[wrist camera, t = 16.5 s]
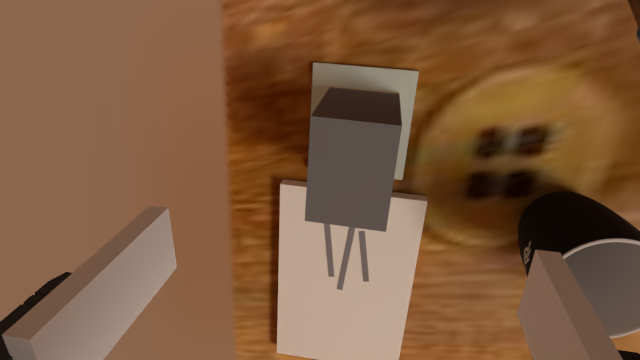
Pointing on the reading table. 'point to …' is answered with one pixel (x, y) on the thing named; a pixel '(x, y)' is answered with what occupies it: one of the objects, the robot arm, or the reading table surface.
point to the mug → (589, 253)
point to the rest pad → (370, 80)
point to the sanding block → (353, 157)
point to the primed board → (345, 280)
